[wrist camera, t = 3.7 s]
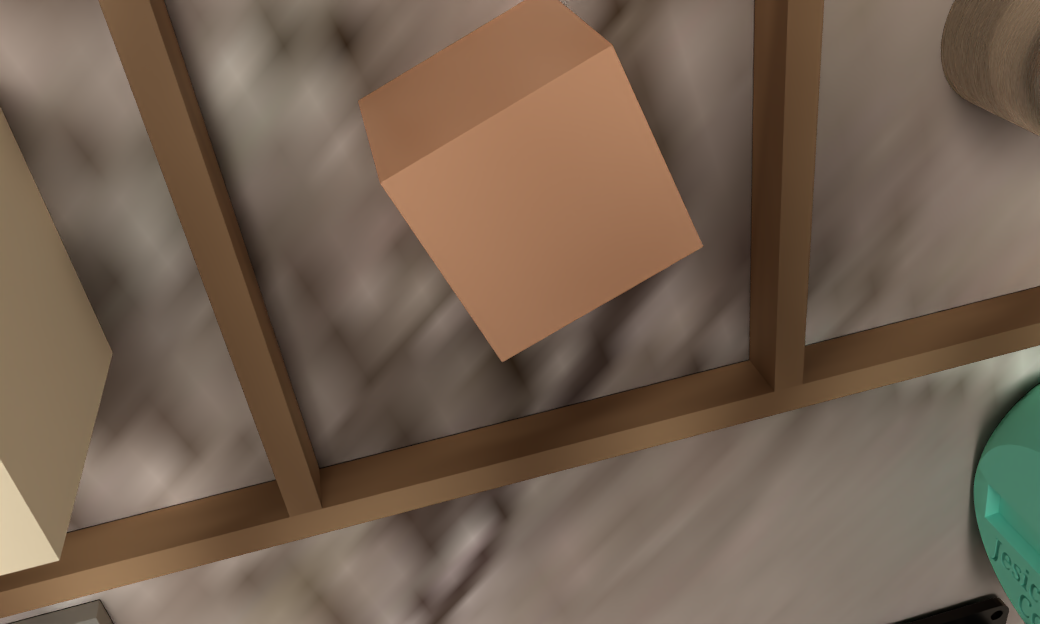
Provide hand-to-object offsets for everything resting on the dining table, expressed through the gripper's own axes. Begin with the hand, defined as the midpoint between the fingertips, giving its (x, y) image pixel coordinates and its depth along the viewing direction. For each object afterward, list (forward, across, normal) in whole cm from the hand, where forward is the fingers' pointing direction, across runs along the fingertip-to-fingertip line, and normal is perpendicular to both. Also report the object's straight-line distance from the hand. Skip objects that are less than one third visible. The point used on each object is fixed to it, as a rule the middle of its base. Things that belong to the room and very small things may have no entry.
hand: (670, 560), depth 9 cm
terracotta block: (+13, -1, 0) cm, 13 cm away
